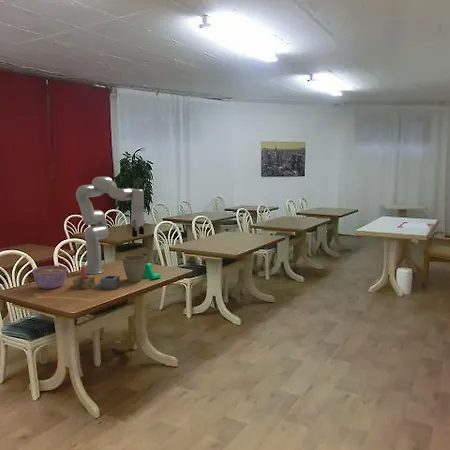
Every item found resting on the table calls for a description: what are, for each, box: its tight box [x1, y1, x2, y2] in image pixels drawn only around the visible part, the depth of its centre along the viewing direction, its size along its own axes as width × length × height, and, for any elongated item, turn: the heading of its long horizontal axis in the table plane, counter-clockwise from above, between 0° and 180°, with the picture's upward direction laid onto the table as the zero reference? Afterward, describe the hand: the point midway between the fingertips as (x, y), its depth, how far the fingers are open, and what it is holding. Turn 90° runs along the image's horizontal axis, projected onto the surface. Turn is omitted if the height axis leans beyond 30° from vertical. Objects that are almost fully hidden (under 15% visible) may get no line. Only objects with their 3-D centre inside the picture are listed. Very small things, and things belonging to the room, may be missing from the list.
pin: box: [80, 265, 88, 279], centre depth 280 cm, size 3×3×12 cm
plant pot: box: [122, 254, 147, 283], centre depth 296 cm, size 15×15×16 cm
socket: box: [99, 274, 121, 289], centre depth 280 cm, size 9×9×6 cm
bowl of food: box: [31, 265, 68, 290], centre depth 281 cm, size 20×20×12 cm
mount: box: [72, 275, 96, 290], centre depth 281 cm, size 10×9×5 cm
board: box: [70, 283, 123, 291], centre depth 281 cm, size 28×12×1 cm, turn 86°
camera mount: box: [142, 262, 162, 280], centre depth 307 cm, size 12×8×10 cm, turn 54°
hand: (138, 235), depth 297 cm, fingers open, 9 cm apart
